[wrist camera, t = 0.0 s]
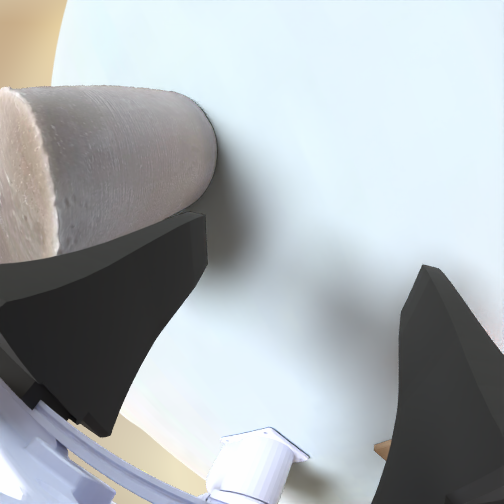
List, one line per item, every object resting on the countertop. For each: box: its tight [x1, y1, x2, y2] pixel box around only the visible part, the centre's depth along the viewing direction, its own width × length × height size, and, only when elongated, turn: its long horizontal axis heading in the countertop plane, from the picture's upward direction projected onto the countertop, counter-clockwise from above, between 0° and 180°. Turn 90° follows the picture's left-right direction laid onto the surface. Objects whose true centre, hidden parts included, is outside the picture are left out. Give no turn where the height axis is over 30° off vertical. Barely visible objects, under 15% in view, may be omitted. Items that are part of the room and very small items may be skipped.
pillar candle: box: [0, 85, 217, 264], centre depth 15 cm, size 10×10×15 cm
